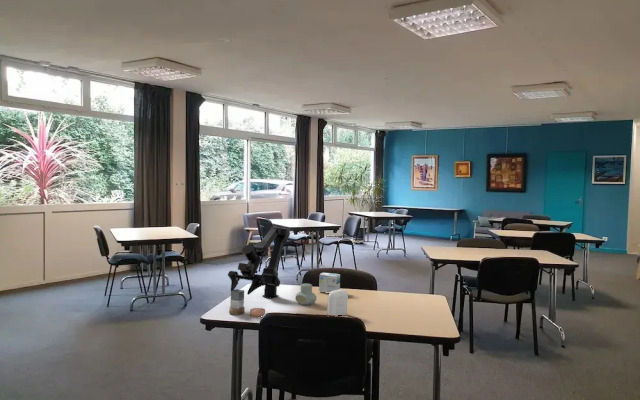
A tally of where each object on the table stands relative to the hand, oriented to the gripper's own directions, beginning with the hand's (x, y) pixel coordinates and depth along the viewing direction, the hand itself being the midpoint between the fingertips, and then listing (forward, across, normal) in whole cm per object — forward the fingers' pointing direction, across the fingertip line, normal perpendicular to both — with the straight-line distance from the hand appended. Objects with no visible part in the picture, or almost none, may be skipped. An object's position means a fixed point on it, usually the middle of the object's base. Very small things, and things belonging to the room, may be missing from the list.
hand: (239, 292), depth 207 cm
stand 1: (+8, 0, +5) cm, 9 cm away
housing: (+6, 0, +4) cm, 7 cm away
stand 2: (+6, +10, +6) cm, 14 cm away
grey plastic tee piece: (-14, +22, +27) cm, 38 cm away
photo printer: (-7, +43, +20) cm, 48 cm away
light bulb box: (-33, +25, +46) cm, 62 cm away
